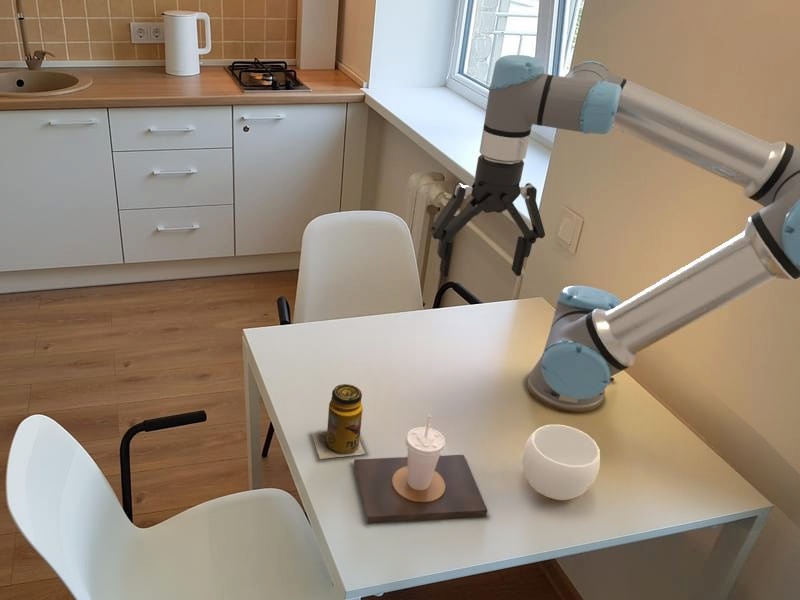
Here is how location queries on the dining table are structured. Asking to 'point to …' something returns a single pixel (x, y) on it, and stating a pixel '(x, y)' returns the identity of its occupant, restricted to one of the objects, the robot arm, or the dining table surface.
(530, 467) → the cup
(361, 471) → the board
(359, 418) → the condiment
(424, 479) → the smoothie
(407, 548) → the dining table surface
